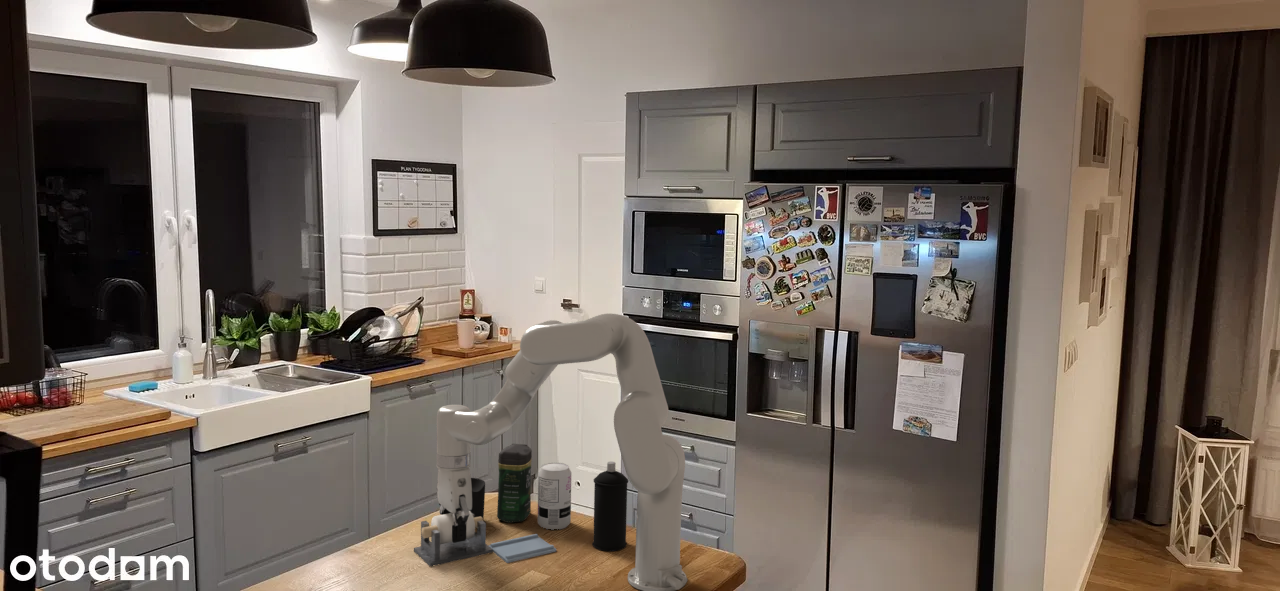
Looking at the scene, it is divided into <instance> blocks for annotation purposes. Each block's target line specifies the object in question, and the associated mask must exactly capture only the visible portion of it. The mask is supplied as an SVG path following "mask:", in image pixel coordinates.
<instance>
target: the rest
mask: <svg viewBox="0 0 1280 591" xmlns="http://www.w3.org/2000/svg"><path fill="white" fill-rule="evenodd" d="M487 545H488V544H487ZM488 546H489V547H491V548H492V549H493V553H494V554H495V555H496V556H497V557H499V558H500V559H501V560H502V561H503V562H505V563H506V564H508V563H509V564H510V563H514V562H518V561H522V560H525V559H529V558H535V557H538V556H543V555H548V554H551V553H555V552H557V548H556V547H555V546H554V544H550V543H549V542H547V541H546V540H544V539H543V538H542V537H540V536H539V535H538V533H535V534H534V533H533V534H529V535H524V536H520V537H515V538H511V539H506V540H505V539H504V540H501V541H498V542H497V541H496V542H492V543H490V544H489V545H488Z"/></svg>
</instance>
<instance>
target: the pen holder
mask: <svg viewBox="0 0 1280 591" xmlns="http://www.w3.org/2000/svg"><path fill="white" fill-rule="evenodd" d="M471 484H472V510H471V511H470V512H471V513H473V514H474V518H475V517H480V516H481V517H482V518H483V519H484V518H485V516H484V515H485V501H486V500H485V497H486V496H485V495H486V494H485V493H486V481H485V480H483V479H481V478H476V477H471ZM456 511H461V509H460V508H458V509H456Z"/></svg>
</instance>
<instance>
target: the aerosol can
mask: <svg viewBox="0 0 1280 591" xmlns="http://www.w3.org/2000/svg"><path fill="white" fill-rule="evenodd" d="M606 465H607V466H606V470H605V471H602V472H599V474H597V476H595V477H594V478H593V483H594V492H593V493H594V494H593V495H594V496H593V501H594V502H593V541H592V546H593V548H594V549H596V550H598V551H602V552H618V551H621V550H624V549H625V548H626V547H627V544H628V542H627V514H628V513H627V508H628V506H627V505H628V504H627V503H628V483H629V479H628V477H626V476H625V474H623V473H622V472H620V471H618V470H616V462H615V461H607V463H606Z"/></svg>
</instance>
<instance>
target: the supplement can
mask: <svg viewBox="0 0 1280 591" xmlns="http://www.w3.org/2000/svg"><path fill="white" fill-rule="evenodd" d="M537 474H538V475H537V476H538V477H537V525H538V526H540V528H542V527H543V528H542V529H544V528H546V529H545V530H548V529H551V530H550V531H555V530H554V529H557V530H556V531H559V530H564V529H566V528H567V527H568V526H569V525H570V524H571V522H572V521H571V519H572V510H571V509H572V471H571V468H570V466H569V464H566V463H563V462H548V463H544V464H542V465H541V466H540V469H539V470H538V473H537ZM558 529H559V530H558Z"/></svg>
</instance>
